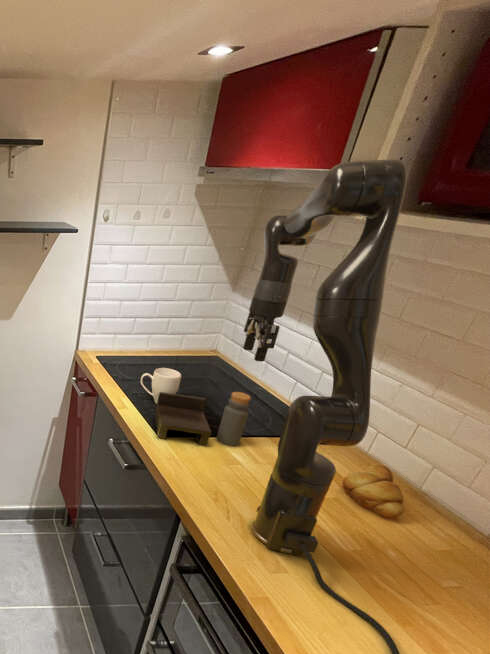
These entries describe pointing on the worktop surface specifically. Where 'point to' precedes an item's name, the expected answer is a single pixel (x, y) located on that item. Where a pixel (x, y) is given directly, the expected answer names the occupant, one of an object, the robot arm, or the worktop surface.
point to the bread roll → (375, 490)
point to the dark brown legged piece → (181, 416)
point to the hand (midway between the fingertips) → (253, 355)
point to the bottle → (234, 419)
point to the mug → (163, 382)
